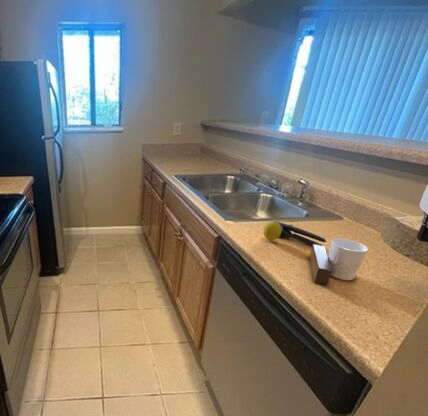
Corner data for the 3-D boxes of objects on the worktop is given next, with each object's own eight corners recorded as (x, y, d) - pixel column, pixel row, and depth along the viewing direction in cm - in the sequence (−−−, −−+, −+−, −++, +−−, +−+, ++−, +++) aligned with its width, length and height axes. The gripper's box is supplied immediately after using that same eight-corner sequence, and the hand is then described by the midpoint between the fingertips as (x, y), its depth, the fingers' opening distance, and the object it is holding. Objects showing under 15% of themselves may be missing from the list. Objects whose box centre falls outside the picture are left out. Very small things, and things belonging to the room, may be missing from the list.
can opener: (265, 234, 107) (268, 221, 105) (273, 229, 111) (276, 217, 109) (320, 252, 94) (324, 237, 92) (326, 246, 98) (331, 231, 96)
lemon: (268, 236, 106) (272, 217, 103) (282, 242, 101) (287, 222, 98) (258, 239, 104) (262, 219, 101) (271, 245, 99) (276, 225, 96)
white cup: (358, 285, 77) (370, 254, 74) (323, 276, 82) (332, 246, 78) (354, 271, 83) (365, 242, 80) (322, 263, 88) (331, 236, 84)
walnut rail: (320, 259, 90) (324, 246, 88) (327, 286, 77) (332, 271, 76) (309, 257, 92) (313, 244, 90) (314, 282, 79) (318, 268, 77)
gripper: (501, 180, 56) (463, 257, 63) (462, 165, 68) (434, 232, 75) (447, 176, 60) (417, 250, 66) (419, 163, 72) (396, 227, 78)
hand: (426, 240), depth 70 cm, fingers closed
